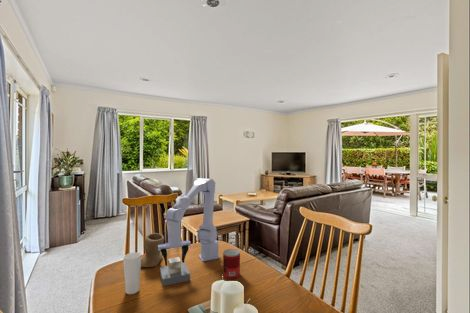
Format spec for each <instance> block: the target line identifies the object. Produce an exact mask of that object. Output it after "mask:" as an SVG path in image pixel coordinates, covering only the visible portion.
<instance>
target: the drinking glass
mask: <svg viewBox="0 0 470 313" xmlns="http://www.w3.org/2000/svg"><path fill="white" fill-rule="evenodd" d="M141 260H142V254H141V253H140V252H134V251H133V252H129V253H127V254H124V255H123V275H124V276H123V277H124V285H125V290H124V291H125V293H126V294H128V295H134V294H137V293H138V292H139V291H140V284H141V283H140V281H141V268H142V267H141Z"/></svg>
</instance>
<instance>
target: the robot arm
mask: <svg viewBox="0 0 470 313" xmlns="http://www.w3.org/2000/svg"><path fill="white" fill-rule="evenodd" d="M200 192H201V193H202V195H204V199H203V200H204V201H203V215H202V216H203V217H202V224H201V225H199V227H198V231H197V239H198V240H199V242H200V254H199V255H198V257H199V258H200V260H201V262H207V261H213V260H218V259H220V254H219V252H220V251H219V250H220V245H219V242H218V239H217V238H218V232H217V227H216V225H214V222H213V220H214V206H215V205H214V204H215V194H216V181H215V180H214V179H213V178H203V177H202V178H201V177H197V178H196V179H195V181H194V182H193V185H192V187H191V188H190V190H188V192H187V194H186V195H185V196H181V197H179V200H177V201H176V203H175V204H174V205H173V207H170V208H169V209H167V210H166V212H165V215H164V218H165V219H166V223H167V242H166V243H163V244H162V245H158V251H161V252H160V253H162V255H163V256H162V258H163V259H164V265H165V266H168V252H167V250H168V249H169V250H171V249H177V248H181V263H185V259H186V256H187V254H188V252H189V247H191V241H190V240H182V236H181V235H182V230H181V228H182V226H181V222H182V220H183V218H184V214H185V213H186V210H188V208H189V207H190V206H191V205H192V200H193V199H194V198H195V197H196V196H197V195H198V194H199V193H200Z"/></svg>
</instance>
